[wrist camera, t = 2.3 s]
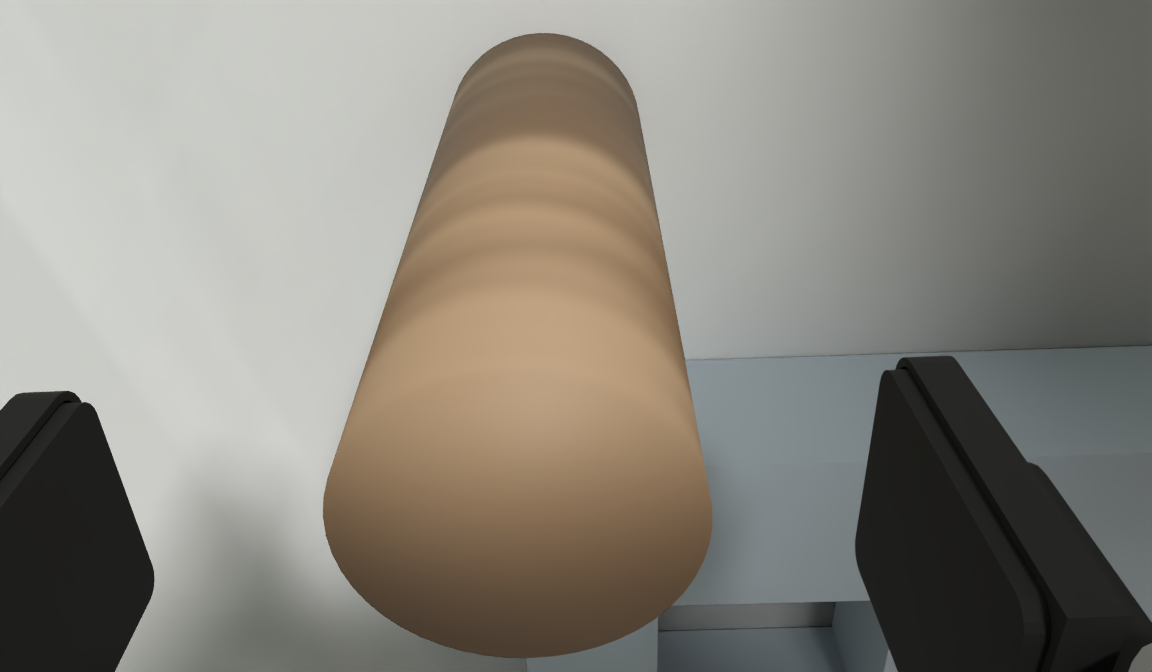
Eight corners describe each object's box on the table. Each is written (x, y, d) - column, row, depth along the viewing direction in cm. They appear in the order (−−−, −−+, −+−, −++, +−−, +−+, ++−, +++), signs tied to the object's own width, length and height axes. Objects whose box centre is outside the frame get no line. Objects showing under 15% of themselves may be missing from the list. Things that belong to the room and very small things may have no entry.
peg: (440, 37, 19) (287, 376, 9) (639, 29, 19) (722, 362, 9) (460, 218, 21) (356, 662, 11) (639, 212, 21) (705, 653, 11)
